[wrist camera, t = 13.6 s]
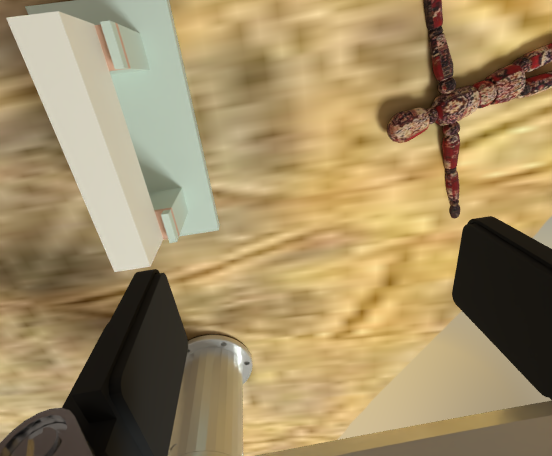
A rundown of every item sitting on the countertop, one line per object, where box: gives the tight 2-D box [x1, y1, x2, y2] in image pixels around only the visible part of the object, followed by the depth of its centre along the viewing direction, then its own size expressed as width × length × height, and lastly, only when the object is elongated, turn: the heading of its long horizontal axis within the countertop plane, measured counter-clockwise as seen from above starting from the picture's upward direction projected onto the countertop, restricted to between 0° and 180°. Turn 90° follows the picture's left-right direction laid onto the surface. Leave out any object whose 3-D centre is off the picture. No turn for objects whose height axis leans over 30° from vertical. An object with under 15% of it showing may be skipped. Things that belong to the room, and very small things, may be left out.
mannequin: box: [387, 0, 552, 218], centre depth 36 cm, size 26×29×4 cm
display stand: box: [25, 0, 220, 243], centre depth 30 cm, size 24×12×9 cm, turn 7°
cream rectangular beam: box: [6, 11, 163, 272], centre depth 24 cm, size 18×4×5 cm, turn 7°
